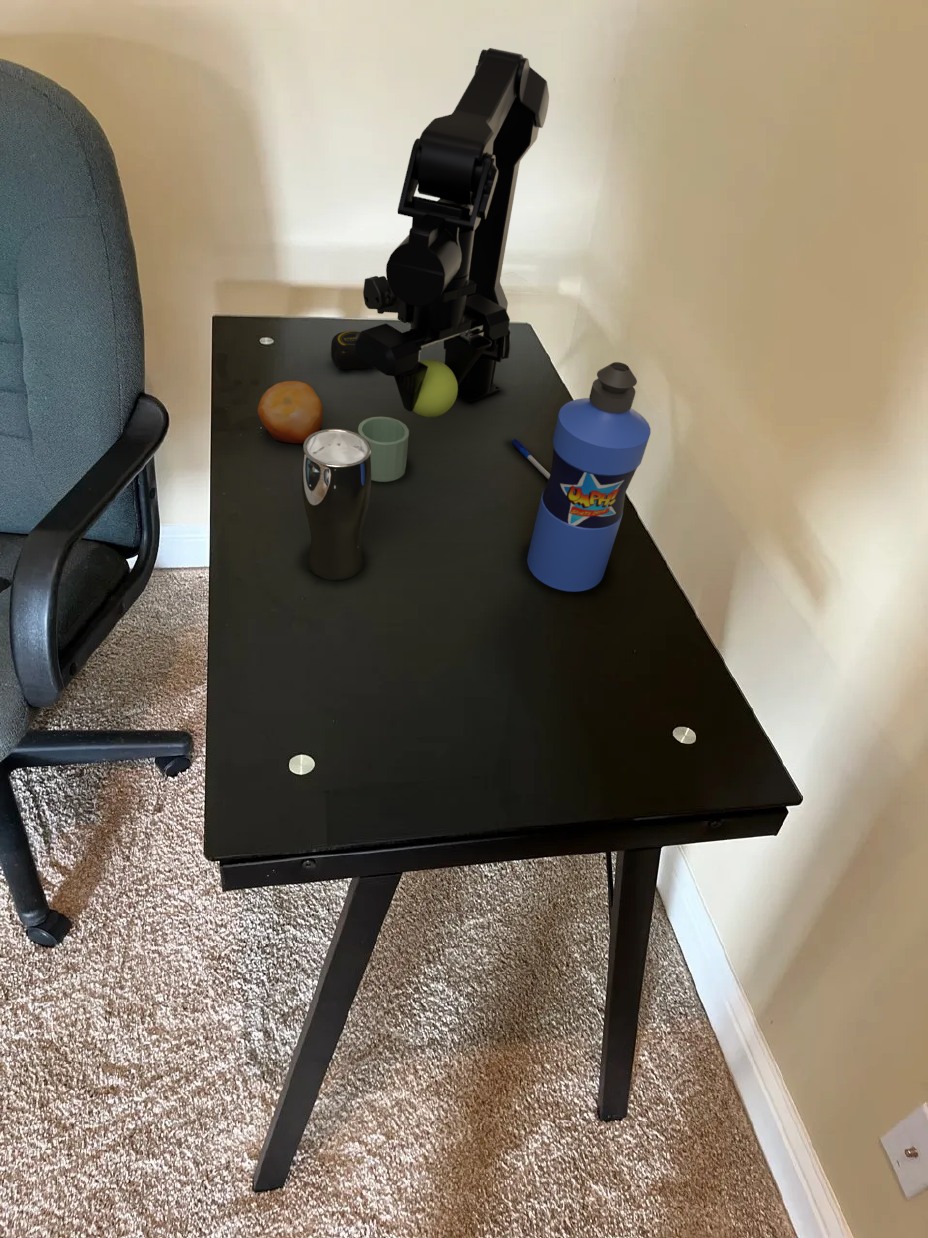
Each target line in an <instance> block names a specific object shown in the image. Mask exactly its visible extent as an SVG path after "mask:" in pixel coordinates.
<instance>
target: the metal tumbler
mask: <svg viewBox="0 0 928 1238" xmlns="http://www.w3.org/2000/svg"><path fill="white" fill-rule="evenodd" d="M302 447H303V452H302V453H303V454H302V465H301V493H302V499H303V505H304V509H305V514H306V518H307V522H308V527H309V531H310V545H309V550H308V553H307V560H306V561H307V567H308V568H309V570H310V571H311V572H312V573H313V574H314V575H316V576H317V577H319V578H321V579H324V580H327V581H344V580H349V579H351V578H352V577H353V578H354V577H355V576H356V575H357V574H359V573H360V571H361V570H362V568H363V565H364V558H363V552H362V548H361V536H362V532H363V531H362V530H363V527H364V523H365V520H366V516H367V512H368V509H369V504H370V499H371V490H372V480H371V447H370V444H369V442H368V441H367V440H366V439H365V438H364V437H362V436H361V435H359V434H358V432H354V431H351V430H348V429H342V428H327V429H322V430H321V429H320V430H319V431H318V432H315V433H313V434H312V435H310V436H309V437H308V438H307V439H306V440H305V442H304V443H303V446H302Z"/></svg>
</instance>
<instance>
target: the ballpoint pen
mask: <svg viewBox="0 0 928 1238" xmlns="http://www.w3.org/2000/svg"><path fill="white" fill-rule="evenodd" d="M511 443H512V445H513V446H514V447H515V449H517V450H518V452H520V454H522V455H523V456H524V457H525V458H526V459H527V460H528V461H529V462H530V463H531V464H532V465H533V466H534V467H535V468H536V469H537V470H538V471H539V472H540V473H541V474H542V475H543V476H544V477H545V478H546V479H547V480H548V479H549V477H550V474H551V473H550V472H548V471H547V470H546V469H545V468H544V467H543V466H542V465H541V463H540V462H539V461H537V460H536V459H535V457H533V456H532V454H531V453H530V452H529V451H528V449H527V448H526V446H525V445H524V444H522V442H520V440H518V439H516V438H513V439H512V441H511Z"/></svg>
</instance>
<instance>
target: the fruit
mask: <svg viewBox="0 0 928 1238" xmlns="http://www.w3.org/2000/svg"><path fill="white" fill-rule="evenodd" d="M257 414H258V416H259V419H260V421H261V424H263V426H264V428H265V429H266V431H267V432H268V433H269V435H270V436H271V437H272V438H273V439H274V440H275V441H278V442H283V443H287V444H288V443H289V444H304V442H305V440H306V439H307V438H308V437H309V436H310V435H312V434H313V433H315V432H318V431H321V428H322V425H323V414H324V409H323V404H322V401H321V400H320V398H319V395H317V393H316V392H315V390H314V389H313V388H312V386H311V385H310V384H308V383H306V382H303V381H299V380H285V381H281V382H278V383H276V384H274V385H272V386H271V387H269V388H267V389H266V391H265V392H264V393H263V394H262V396H261V398H260V399H259V403H258V405H257Z"/></svg>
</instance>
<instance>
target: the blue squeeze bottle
mask: <svg viewBox="0 0 928 1238" xmlns="http://www.w3.org/2000/svg"><path fill="white" fill-rule="evenodd" d="M596 377H597V378H596V379H595V380H593V382H592V385H591V389H590V392H589V397H583V398H577V399H573V400H570V401H568V402H566V403H565V404H564V405H563V406H561V407H560V410H559V412H558V415H557V419H556V420H557V421H556V424H555V429H554V433H553V437H552V446H553V448H552V449H553V450H552V459H551V471H550V473H549V474H550V477H549V479H547V481H546V484H545V487H544V490H543V492H542V493H541V497H540V501H539V505H538V509H537V514H536V517H535V522H534V527H533V531H532V534H531V535H532V536H531V540H530V543H529V548H528V552H527V557H526V561H527V567H528V569H529V571H530V572H531V574H532V575H533V576H534V577H535V578H536V579H537V580H538V581H540V583H543V584H544V585H546V586H548V587H550V588H553V589H556V590H559V591H564V592H573V593H574V592H576V593H577V592H584V591H588V590H591V589H593V588H595V587H596V586H598V584H600V583H601V581H602V580H603V578H604V575H605V572H606V569H607V566H608V563H609V560H610V556H611V553H612V550H613V547H614V543H615V540H616V538H617V534H618V531H619V528H620V525H621V521H622V518H623V515H624V506H625V499H626V493H627V490H628V489H629V486H630V484H631V482H632V480H633V478H634V476H635V473H636V471H637V469H638V468H639V466H640V465H641V464H642V461H643V458H644V455H645V452H646V448H647V445H648V443H649V440H650V436H651V432H652V431H651V427H650V424H649V422H648V420H647V419H646V418H645V417H644V416H643V415H642V414H641V413H639V412H638V411H637V410H635V409H634V408H632V406H633V403H634V400H635V397H636V389H635V388H634V387H635V386H636V385H637V384H638V379H637V378H636V376H635V375H634V372H633V371H632V370H631V368H630V367H629V365H627V364H625V363H623V362H619V361H614V362H612V363H610V364H608V365H606V366H604V367H602V368H600V369H599V370H598V371H597V372H596Z"/></svg>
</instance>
